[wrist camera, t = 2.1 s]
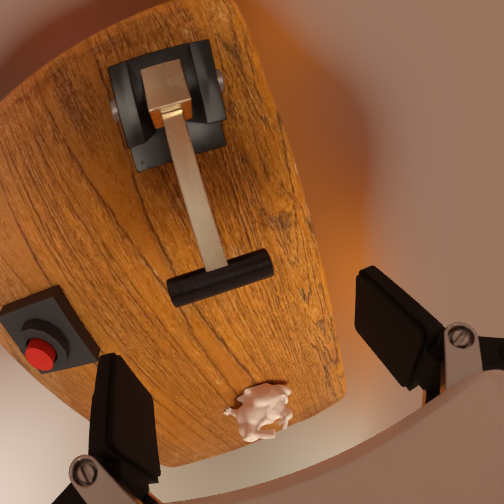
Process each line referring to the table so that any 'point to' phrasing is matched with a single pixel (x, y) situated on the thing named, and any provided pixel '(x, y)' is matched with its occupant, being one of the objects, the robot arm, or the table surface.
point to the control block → (50, 328)
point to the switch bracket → (135, 109)
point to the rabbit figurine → (261, 410)
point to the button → (40, 354)
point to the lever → (195, 193)
